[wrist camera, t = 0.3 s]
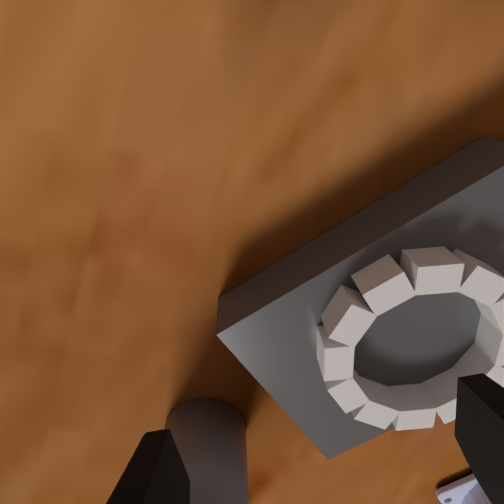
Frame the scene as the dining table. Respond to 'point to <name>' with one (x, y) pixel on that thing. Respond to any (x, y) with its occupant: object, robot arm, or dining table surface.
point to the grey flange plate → (383, 307)
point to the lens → (211, 450)
